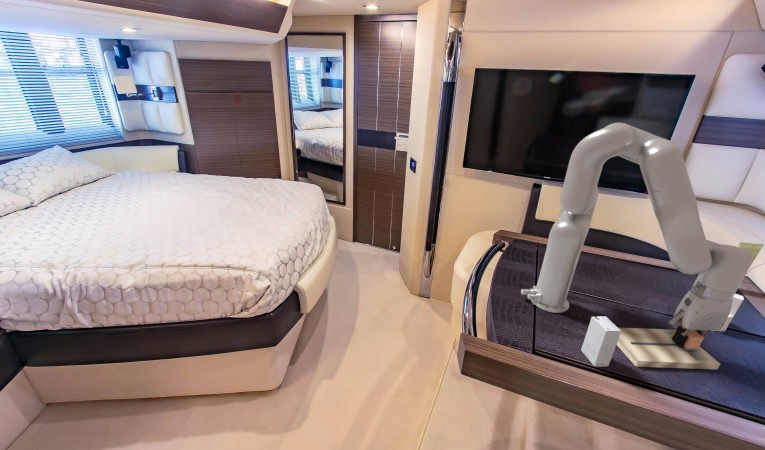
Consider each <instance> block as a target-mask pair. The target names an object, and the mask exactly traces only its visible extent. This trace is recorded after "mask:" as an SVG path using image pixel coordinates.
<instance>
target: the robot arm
mask: <svg viewBox="0 0 765 450" xmlns="http://www.w3.org/2000/svg"><path fill="white" fill-rule="evenodd" d="M613 157H614V158H615V157H620V158H623V159H625V160H627V161H629V162H632V163H635V164H637V165H639V168H640V172H641V175H642V178H643V181H644V185H645V186H646V190H647V193H648V197H649V200H650V203H651V207H652V209H653V213H654V216H655V218H656V220H657V223H658V225H659V228H660V231H661V234H662V237H663V241H664V245H665V247H666V250H667V253H668V257H669V260H670V263H671V265H672V267H673V268H674V269H675V270H677V271H679V272H680V273H682V274H684V275H689V276H696V278H695V281H694V283H693V285H692V286H691V287H690V288H691V289H689V290H688V291H687V292H686V294H685V295H684V297H683V298H682V299H681V301H680V302H679V304H678V306H677V307H676V309H675V310H674V314H673V318H672V319H671V320H669V321H668V324H669V325H670V326H671V327H673V328H674V330H675V329H676V332H675V334H674V336H673V338H672V341H673V342H674V343H676V344H677V345H678V346H679V347H684V345H685V343H686V341H687V339H688V336H687V335H688V333H689V332H690V330H695V331H696V332H698V333H699V334H700V335H701V336H703V337H704V338H705V337H706V336H707V334H708V333H710V332H714V331H718V330H721V329H722V327H723V326H724V324H725V322H726V320H727V318H728V316H729V313H730V311H731V308H732V303H733V300H732V298H733V296H734V294H736V292H737V291H738V289H739V287H740V286H741V283H742V282H743V280H744V278H745V276H746V275H747V273H748V271H749V269H750V268H751V267H752V264H753V263H754V262H755V260H754V256H753V255H752V254H751V253H750V252H749V251H747V250H744V249H742V248H739V247H738V246H735V245H730V244H722V243H718V242H715V241H712V240H708V239H706V235H705V232H704V229H703V225H702V221H701V218H700V213H699V207H698V202H697V198H696V194H695V192H694V189H693V186H692V182H691V179H690V176H689V173H688V169H687V166H686V163H685V159H684V157H683V154H682V151H681V149H680V148H679V146H678V145H677V143H675V142H674V141H671V140H669V139H667V138H664V137H661V136H658V135H655V134H653V133H650V132H649V131H645V130H642V129H641V128H638V127H635V126H633V125H630V124H627V123H624V122H614V123H610V124H608V125H607V126H605V127H603V128H601V129H599V130H598V129H597V130H596V131H593V132H591V133H590V134H588V135H587V136H585V137H583V139H581V140H580V141H579V142H578V143H577V145H576V146H575V148H574V149H573V151H572V153H571V155H570V159H569V161H568V166H567V169H566V173H565V177H564V181H563V185H562V186H563V187H562V190H561V193H560V195H559V203H560V204H559V205H560V209H559V214H558V218H557V219H556V220H555V222H554V223H553V225H552V227H551V229H550V232H549V235H548V239H547V244H546V249H545V250H546V251H545V254H544V257H543V261H542V265H541V269H540V272H539V277H538V280H537V283H536V285H533V287H532V288H529V289H528V288H521V290H520V293H521V295H522V296H523V295H526V296H527V299H528V300H529V301H530V300H531V301H530V302H531V303H532V305H534V306H535V305H536V307H537V308H539V309H540V310H542V311H546V312H549V313H554V314H561V313H565V312H567V311H568V310H569V308H570V302H569V301H568V299H567V296H568V294H569V290H570V287H571V284H572V280H573V278H574V274H575V271H576V268H577V265H578V262H579V259H580V256H581V252H582V249H583V247H584V244H585V241H586V239H587V235H588V233H589V231H590V227H591V223H592V220H593V216H594V212H595V208H596V206H597V205H596V204H597V200H598V197H599V189H598V185H599V180H600V177H601V174H602V170H603V166H604V164H605V163H606V162H607V161H608V160H609V159H611V158H613ZM683 326H684V327H685V329H683V328H682V327H683Z"/></svg>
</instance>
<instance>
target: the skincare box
mask: <svg viewBox="0 0 765 450" xmlns="http://www.w3.org/2000/svg"><path fill="white" fill-rule="evenodd" d="M619 328H620V327H617V325H616V324H615V323H613V322H612V321H611V320H610V319H609V317H607V316H606V315H605V316H601V315H600V316H599V315H598V316H591V318H590V322H589V324H588V327H587V331H586V334H585V336H584V339H583V340H584V341H583V343H582V346H581V352H582V353H583V354H584V356H585V357H586V359H587V360H588V361H589V362H590V363H591V364H592V366H593V367H596V368H597V367H602V368H604V367H605V368H606V367H609V365H610V363H611V360H612V358H613V354H614V353H615V350H616V347H617V342H618V339H619V337H620V334H621V330H620V329H619Z"/></svg>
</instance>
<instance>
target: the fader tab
mask: <svg viewBox="0 0 765 450" xmlns="http://www.w3.org/2000/svg"><path fill="white" fill-rule="evenodd" d="M682 328H683V329H685V327H684V326H683V327H682ZM674 330H675V331H674V333H673V335H672V337H671V338H673V336H674V334H675V332H676V329H675V328H674ZM687 336H688V339H687V341H686V343H685V345H684V347H682V348H683V349H685V350H686V351H697V350H698V348H699V346H700V347H701V344H702V342H703V340H704V339H705V337H703V336H701V335H700V334H699V333H698V332H696V331H695V330H690V332H689V333H688V335H687Z"/></svg>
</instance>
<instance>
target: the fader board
mask: <svg viewBox="0 0 765 450" xmlns="http://www.w3.org/2000/svg"><path fill="white" fill-rule="evenodd" d="M618 328H619V329H620V330H621V334H620V337H619V339H618V342H617V345H616V347H618V348H619V349H620V350H621V352H623V354H624V355H625V356H626V357H627V358H628V359H629V361H630V362H631V363H632V364H633V365H634V366H635V367H640V368H661V369H663V368H667V369H668V368H669V369H671V368H672V369H690V370H691V369H693V370H694V369H696V370H697V369H698V370H718V369H719V368H720V366H721V363H720V362H719V361H717V360H716V359H715V358H714V357H713V356H712V355H711V354H710V353H708V352H707V351H706V350H704V349H703V348H702V347H701V345H700V346H699V348H698V350H697V351H686V350H685V349H683V348H682V347H679V346H678V345H677V344H676V343H674V342H673V341H672V338H671V337H672V335H673V333H674V331H675V329H669V328H668V329H666V328H665V329H663V328H662V329H661V328H641V327H640V328H637V327H635V328H634V327H618Z"/></svg>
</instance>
